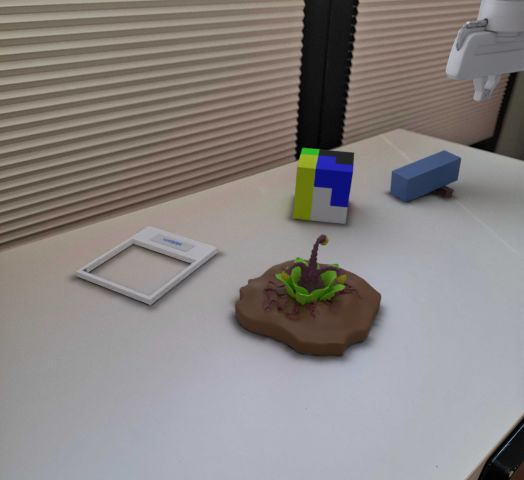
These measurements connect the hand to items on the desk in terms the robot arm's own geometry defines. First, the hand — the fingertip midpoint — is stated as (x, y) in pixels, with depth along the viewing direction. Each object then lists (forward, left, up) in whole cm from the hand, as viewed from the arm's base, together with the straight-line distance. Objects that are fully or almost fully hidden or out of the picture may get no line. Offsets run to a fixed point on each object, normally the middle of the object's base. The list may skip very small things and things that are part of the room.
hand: (481, 99), depth 101 cm
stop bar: (+7, 0, -18) cm, 19 cm away
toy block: (+3, 0, -13) cm, 13 cm away
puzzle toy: (+35, -2, -18) cm, 39 cm away
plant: (+55, +25, -18) cm, 62 cm away
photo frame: (+72, +3, -18) cm, 74 cm away
